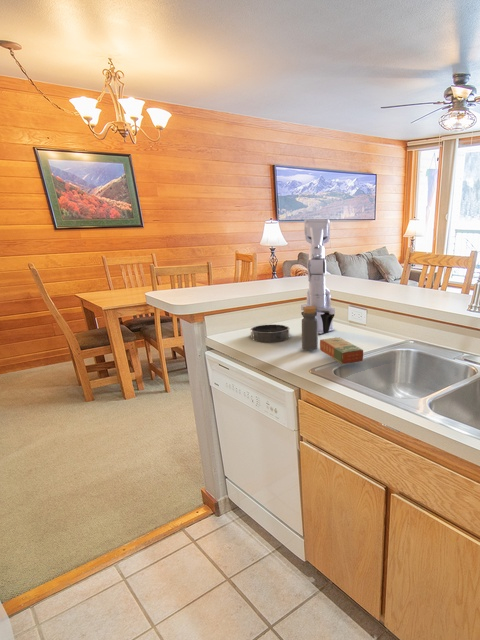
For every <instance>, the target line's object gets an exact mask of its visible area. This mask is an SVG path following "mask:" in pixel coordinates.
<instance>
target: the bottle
mask: <svg viewBox="0 0 480 640" xmlns="http://www.w3.org/2000/svg"><path fill="white" fill-rule="evenodd" d="M303 311H304V312H303ZM302 312H303V316H304V317H303V316H302V319H301V348H302V350H305V351H316V350H317V349H319V333H318V320H317V319H316V318H315V316H317V312H316V307H313V306H305V307H303V310H302Z"/></svg>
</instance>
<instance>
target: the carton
mask: <svg viewBox="0 0 480 640" xmlns="http://www.w3.org/2000/svg"><path fill="white" fill-rule="evenodd" d="M319 351H320V352H322V353H323V354H325V355H327V356H329V357H330V358H332V359H333V360H334V361H336V362H338V363H339V364H341V365H346V364H352V363H353V364H354V363H359V362H363V360H364V349H362V348H361V347H358V346H357V345H354V344H353V343H351V342H349V341H347V340H345V339H343V338H341V336H340V337H330V338H323V339H320V340H319Z"/></svg>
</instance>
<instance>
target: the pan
mask: <svg viewBox="0 0 480 640" xmlns="http://www.w3.org/2000/svg"><path fill="white" fill-rule="evenodd" d="M290 334H291V333H290V327H289V326H287V325H283V324H260V325H256V326H253V327H251V328H250V338H251V340H253V341H255V342H258V343H266V344H267V343H269V344H270V343H272V344H273V343H281V342H285V341H287V340H289V339H290V337H291V336H290Z"/></svg>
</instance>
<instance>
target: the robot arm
mask: <svg viewBox="0 0 480 640" xmlns="http://www.w3.org/2000/svg"><path fill="white" fill-rule="evenodd" d="M303 222H304V224H303V225H304V226H303V227H304V229H303V230H304V237H305V240H306V243H309V244H310V246H309V248H308V261H306V262H307V263H306V270H307V279H308V290H307V291H306V304H305V303H304V304H301V306H300V309H301V310H300V311H301V313H300V314H301V316H302V318H304V316H303V312H304V310H303V307H305V306H313V307H316V312H317V316H315V318H316V319H317V320H318V335H319V334H320V335H321V334H329V333H330V332H332V331H335V328H334V323H333V321H334V320H333V319H334V317H335V314H336V309H335V308H334V307H332V306H331V305H332V304H331V302H332V301H331V291H330V289H329V288H328V287H326V276H327V261H326V256H325V255H326V253H325V252H326V249H325V244H327V243H329V242H330V235H331V224H330V223H331V222H330V219H329V218H305V219H304V221H303Z"/></svg>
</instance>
